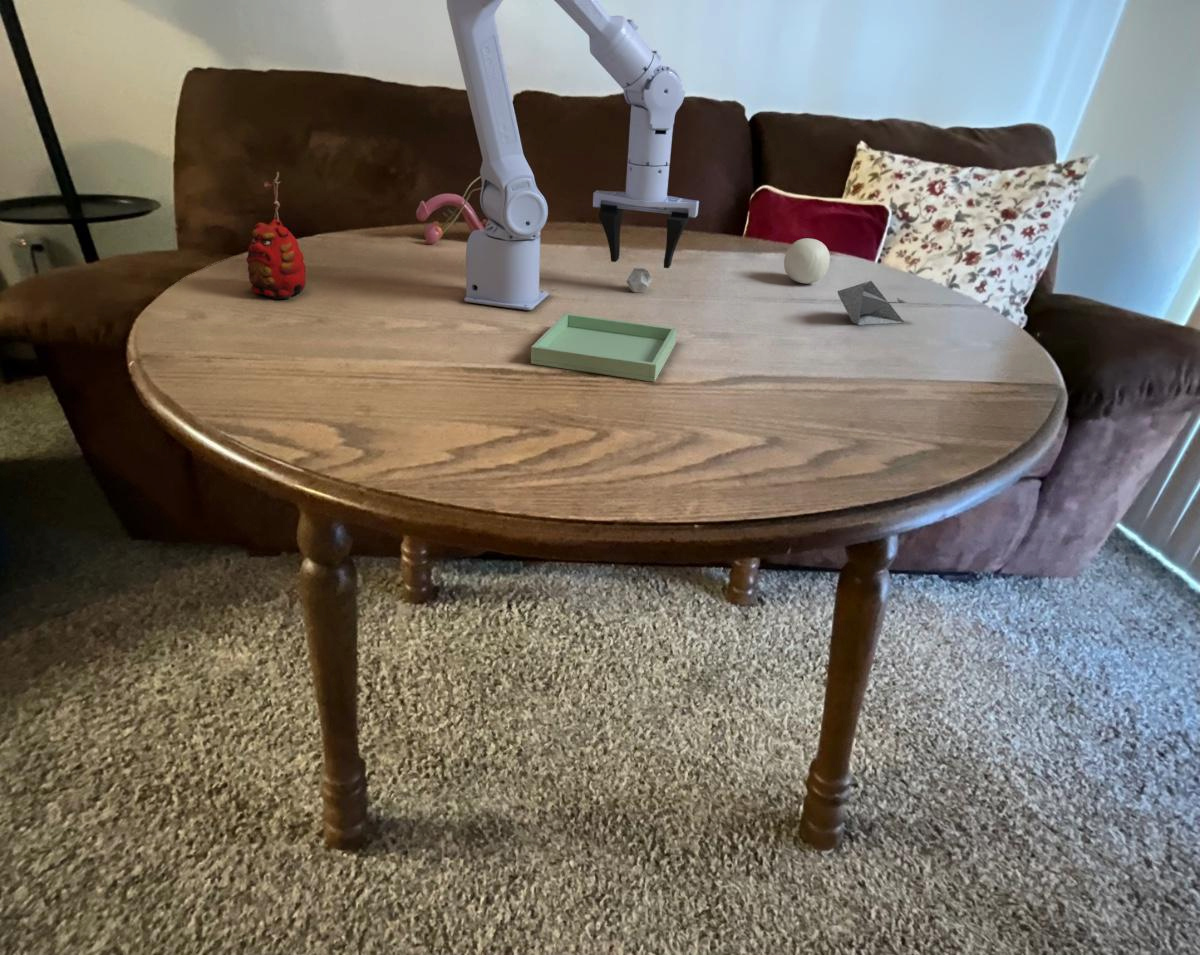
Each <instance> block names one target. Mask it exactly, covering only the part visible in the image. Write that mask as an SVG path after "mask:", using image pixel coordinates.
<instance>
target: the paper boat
mask: <svg viewBox="0 0 1200 955" xmlns="http://www.w3.org/2000/svg"><path fill="white" fill-rule="evenodd" d="M837 295H838V297H839V299H840V301H841V303H842V305H843V307H844V309H845V311H846V313H847V315H848V317H849V319H850V321H851V322H852V323H853V324H855V325H858V326H863V325H881V324H899V323H900V324H901V323H905V321H904V320H903V319H902V318H901V316H900V315H899V313H898V312H897V311H896V310H895V308H894V307H893V306H892V305H891V304H906V303H908V302H907V301H905V300H903V299H901V298H900V297H899V298H898V297H896V300H897V301H888V300H887V298H886V297H885V296H884V295H883V293H882V292H881V291H880V290H879V289H878V287H877V286H876V284H874V282H873V281H872V280H869V281H865V282H863V283H862V282H861V283H860V284H856V285H853V286H849V287H846V288H844V289H843V288H842V289H839V290H837Z"/></svg>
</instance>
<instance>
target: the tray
mask: <svg viewBox="0 0 1200 955" xmlns="http://www.w3.org/2000/svg"><path fill="white" fill-rule="evenodd" d="M677 334H678V328H677V327H671V326H664V325H657V324H650V323H649V324H648V323H642V322H641V323H640V322H634V321H626V320H619V319H611V318H606V317H605V318H604V317H597V316H589V315H583V314H574V313H569V312H568V313H567V312H565V313H564V314H563V315H562V316H560V318H559V319H557V320H556V321H555V323H554V324H552V325H551V327H550V328H549V329H548V330H547V331H545V333H543V334H542V336H541V337H539V339H537V341H536V342H534V343H533V344H532V346H531V347H530V364H532V365H538V366H546V367H550V368H551V367H552V368H559V369H564V370H565V369H566V370H572V371H578V372H585V373H591V374H598V375H599V374H600V375H604V376H605V375H606V376H612V377H619V378H625V379H632V380H637V381H639V380H640V381H644V382H645V381H646V382H652V383H653V382H654V383H655V382H656V380H657V378H658V377H659V375H660V373H661V371H662V369H663V367H664V366H665V364H666V362H667V360H668V358H669V357H670V355H671V352H672V351H673V349H674V347H675V345H677V344H676V343H677Z"/></svg>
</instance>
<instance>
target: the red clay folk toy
mask: <svg viewBox="0 0 1200 955" xmlns="http://www.w3.org/2000/svg"><path fill="white" fill-rule="evenodd" d="M279 177H280V172H279V171H276V177H275V178H274V179H273V180H272V184H271V183H270V182H269V181H264V182H263V187H264V190H266V191H267V190H269V189H273V194H274V195H273V196H274V201H273V202H272V203H273V206H274V214H273V219H272V220H271V221H270V222H269V223H268V224H267V223H265V222H258V223H256V224H255V225H254V228H253V230H252V231H251V235H252V236H251V242H250V245H249V247H248V250H247V257H246V259H245V260H246V263H247V265H248V266H247V272H248V280H249V283H250V284H251V290H252V292H253V293H254V294H255V295H263V296H266V297H268V298H269V299H279V300H281V299H290V298H292V296H294V295H299V294H301V292H303V290H304V289H305V287H306V282H307V281H306V277H307V276H306V272H307V271H306V270H307V267H306V263H305V262H304V254H303V252H302V251H301V249H300V245H299V242H298V239H297V238H296V237H295V236H294V235H293V234H292V232H291V231H290V230H288V228H287V227H286V226H284V225H283V222H282V221H281V220H280V218H279V212H278V211H279V209H280V207H281V203H280V202H279V201H278V197H279V196H278V195H279V191H278V190H279V184H281V183H282V182H281V181H278V180H279Z"/></svg>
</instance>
